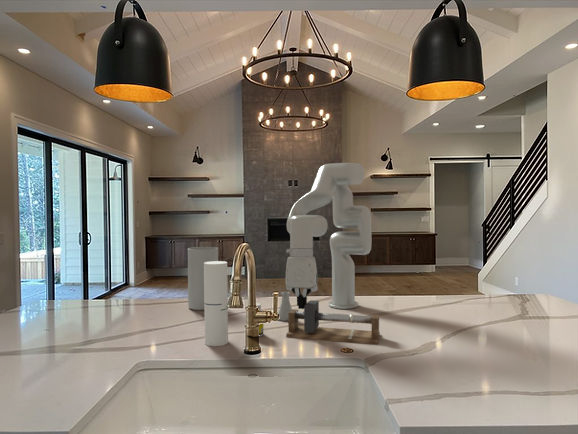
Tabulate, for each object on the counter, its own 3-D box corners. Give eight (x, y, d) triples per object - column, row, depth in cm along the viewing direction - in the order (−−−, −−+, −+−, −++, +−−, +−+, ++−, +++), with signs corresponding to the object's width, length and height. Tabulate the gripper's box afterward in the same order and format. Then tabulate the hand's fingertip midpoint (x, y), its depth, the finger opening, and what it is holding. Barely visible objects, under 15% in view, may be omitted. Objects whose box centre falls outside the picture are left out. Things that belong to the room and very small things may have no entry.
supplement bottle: (244, 334, 138) (243, 303, 138) (259, 331, 140) (259, 301, 140) (249, 338, 133) (249, 307, 133) (265, 336, 135) (265, 305, 135)
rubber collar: (304, 331, 134) (304, 306, 134) (310, 324, 142) (310, 300, 142) (313, 332, 133) (313, 306, 133) (318, 325, 141) (318, 300, 141)
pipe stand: (286, 336, 135) (286, 314, 135) (294, 328, 144) (294, 307, 144) (377, 344, 127) (377, 320, 127) (379, 334, 136) (379, 312, 136)
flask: (295, 316, 160) (295, 290, 160) (294, 321, 153) (294, 294, 153) (277, 316, 161) (277, 290, 160) (274, 321, 154) (274, 294, 153)
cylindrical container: (202, 340, 131) (201, 261, 131) (224, 337, 134) (224, 260, 134) (207, 347, 125) (206, 264, 124) (230, 344, 128) (229, 263, 127)
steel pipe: (292, 319, 138) (292, 311, 138) (294, 317, 140) (294, 309, 140) (375, 325, 130) (375, 317, 130) (375, 323, 133) (375, 314, 133)
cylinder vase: (223, 304, 181) (222, 247, 180) (211, 311, 169) (210, 250, 168) (196, 303, 184) (195, 246, 183) (183, 309, 172) (182, 249, 171)
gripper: (276, 253, 136) (277, 309, 137) (321, 254, 132) (321, 312, 133) (283, 251, 144) (283, 304, 144) (325, 252, 139) (326, 306, 140)
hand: (301, 307), depth 138 cm, fingers closed
